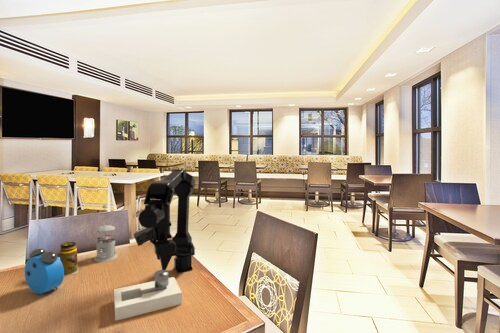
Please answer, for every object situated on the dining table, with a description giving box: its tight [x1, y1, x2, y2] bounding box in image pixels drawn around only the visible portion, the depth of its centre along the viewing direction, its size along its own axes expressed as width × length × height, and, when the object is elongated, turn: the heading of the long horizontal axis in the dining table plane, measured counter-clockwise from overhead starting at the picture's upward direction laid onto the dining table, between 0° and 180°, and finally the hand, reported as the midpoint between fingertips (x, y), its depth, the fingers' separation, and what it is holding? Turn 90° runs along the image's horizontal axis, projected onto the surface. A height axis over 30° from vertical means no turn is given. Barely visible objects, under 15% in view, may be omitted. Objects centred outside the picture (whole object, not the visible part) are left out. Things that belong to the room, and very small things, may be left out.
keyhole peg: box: [153, 269, 170, 290], centre depth 93 cm, size 5×5×9 cm
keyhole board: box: [113, 276, 183, 322], centre depth 91 cm, size 20×12×4 cm, turn 118°
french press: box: [93, 204, 119, 263], centre depth 127 cm, size 10×12×25 cm
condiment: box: [59, 241, 80, 276], centre depth 112 cm, size 7×8×12 cm
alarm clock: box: [24, 247, 64, 295], centre depth 97 cm, size 13×6×15 cm, turn 67°
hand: (161, 264), depth 92 cm, fingers open, 9 cm apart
